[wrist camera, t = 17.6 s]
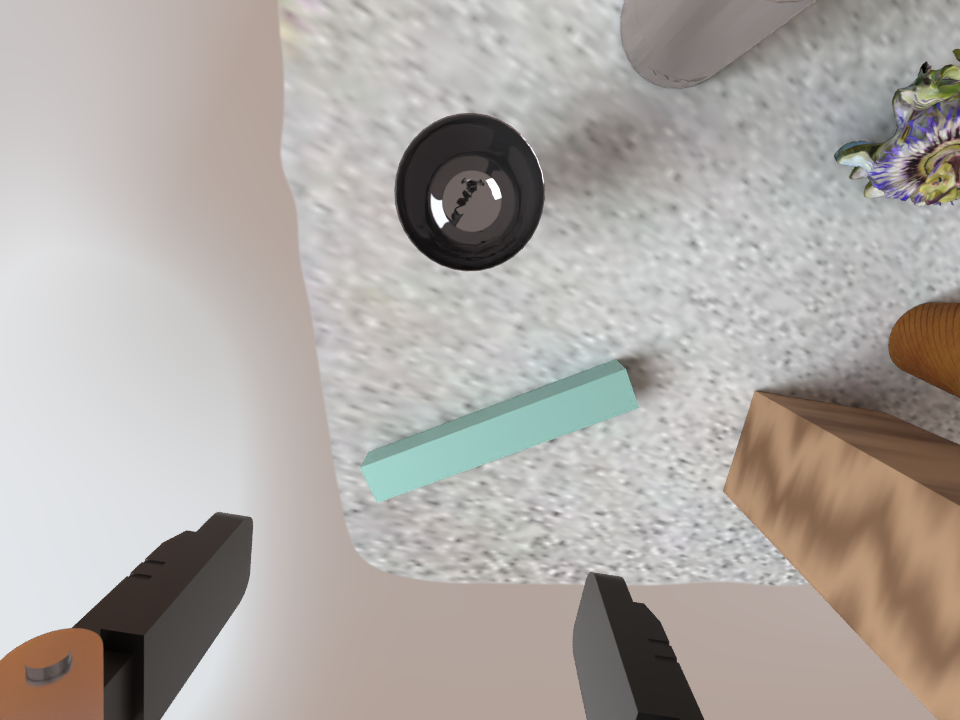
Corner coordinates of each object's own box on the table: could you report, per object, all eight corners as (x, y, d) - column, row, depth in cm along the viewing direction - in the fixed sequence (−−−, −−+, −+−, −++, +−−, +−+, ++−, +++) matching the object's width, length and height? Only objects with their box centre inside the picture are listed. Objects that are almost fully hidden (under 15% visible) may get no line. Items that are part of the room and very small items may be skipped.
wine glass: (497, 141, 39) (503, 82, 24) (540, 233, 41) (570, 229, 26) (410, 189, 40) (366, 159, 25) (455, 277, 42) (438, 297, 27)
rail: (369, 450, 46) (359, 467, 42) (614, 358, 43) (625, 368, 40) (385, 483, 47) (377, 502, 43) (627, 394, 44) (639, 407, 41)
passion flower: (827, 192, 45) (817, 196, 36) (879, 53, 40) (882, 18, 31) (991, 213, 39) (1029, 224, 30) (1074, 54, 34) (1147, 10, 25)
